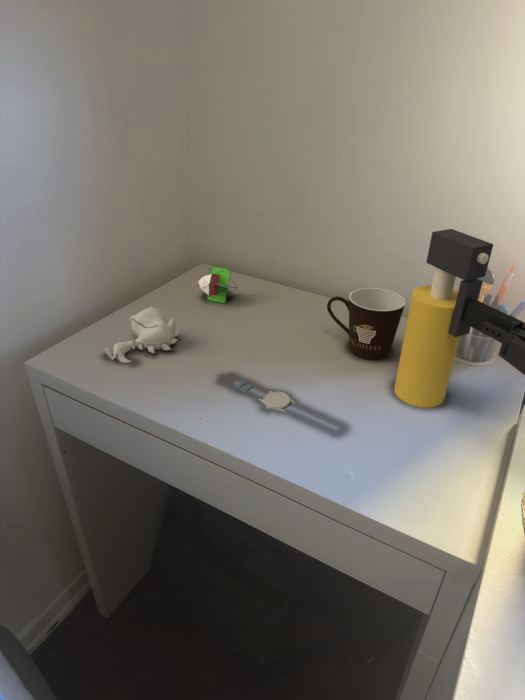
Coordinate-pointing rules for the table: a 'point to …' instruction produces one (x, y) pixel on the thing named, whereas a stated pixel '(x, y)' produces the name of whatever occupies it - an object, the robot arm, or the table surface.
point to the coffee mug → (371, 321)
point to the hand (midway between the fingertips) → (469, 311)
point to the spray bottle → (437, 318)
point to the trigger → (464, 306)
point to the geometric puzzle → (216, 284)
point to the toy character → (147, 333)
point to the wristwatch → (271, 398)
